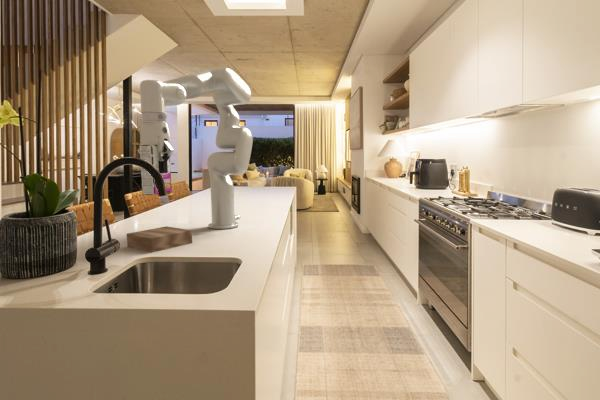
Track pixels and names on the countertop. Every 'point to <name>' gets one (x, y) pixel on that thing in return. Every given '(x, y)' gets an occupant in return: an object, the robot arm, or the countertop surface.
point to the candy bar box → (152, 156)
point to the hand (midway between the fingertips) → (156, 172)
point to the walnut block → (159, 239)
